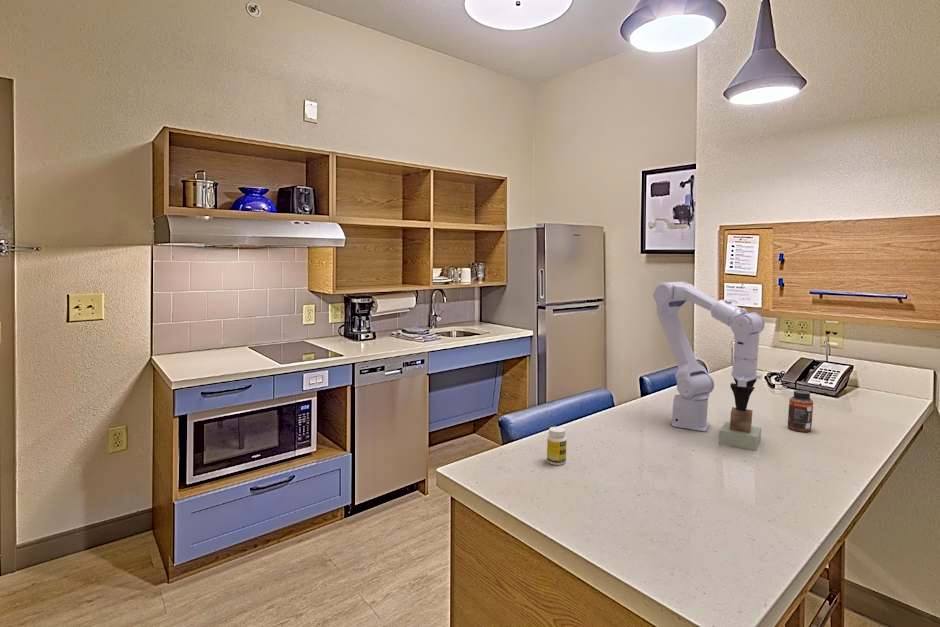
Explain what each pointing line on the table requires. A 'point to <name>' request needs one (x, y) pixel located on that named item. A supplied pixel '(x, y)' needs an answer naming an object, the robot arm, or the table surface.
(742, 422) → the walnut cube
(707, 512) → the table surface
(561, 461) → the supplement bottle
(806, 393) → the supplement bottle
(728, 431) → the sage block
